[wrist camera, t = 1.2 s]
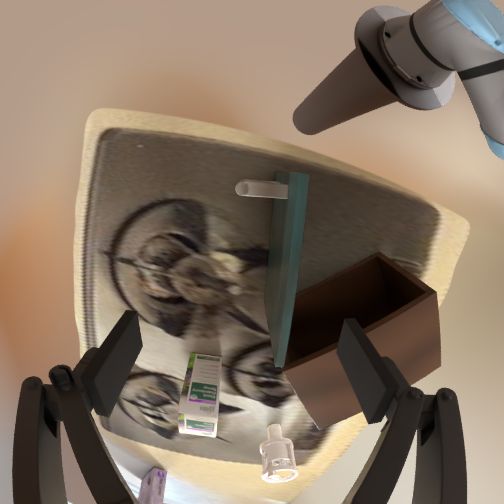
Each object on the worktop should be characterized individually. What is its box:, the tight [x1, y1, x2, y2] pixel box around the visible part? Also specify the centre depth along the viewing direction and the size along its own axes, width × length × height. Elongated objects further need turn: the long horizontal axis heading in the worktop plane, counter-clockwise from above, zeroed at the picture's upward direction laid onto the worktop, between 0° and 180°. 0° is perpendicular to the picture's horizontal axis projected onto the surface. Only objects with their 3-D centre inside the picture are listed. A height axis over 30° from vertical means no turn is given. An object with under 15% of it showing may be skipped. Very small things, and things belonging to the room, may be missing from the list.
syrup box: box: [178, 353, 222, 437], centre depth 40 cm, size 6×6×14 cm
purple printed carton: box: [138, 467, 167, 504], centre depth 53 cm, size 19×5×18 cm, turn 150°
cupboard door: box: [235, 171, 309, 367], centre depth 33 cm, size 6×20×16 cm, turn 176°
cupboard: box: [282, 252, 441, 430], centre depth 37 cm, size 14×20×16 cm
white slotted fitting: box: [260, 424, 298, 483], centre depth 46 cm, size 7×7×15 cm
